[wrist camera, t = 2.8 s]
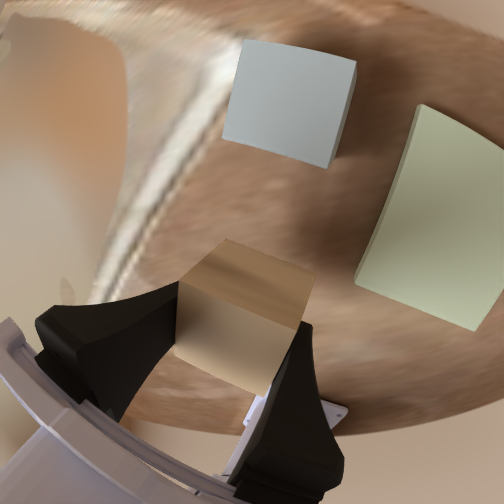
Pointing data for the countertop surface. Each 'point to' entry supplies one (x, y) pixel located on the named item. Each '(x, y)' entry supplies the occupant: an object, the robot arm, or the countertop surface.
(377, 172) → the countertop surface
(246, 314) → the oak brick
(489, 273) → the baseplate
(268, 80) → the slate brick
